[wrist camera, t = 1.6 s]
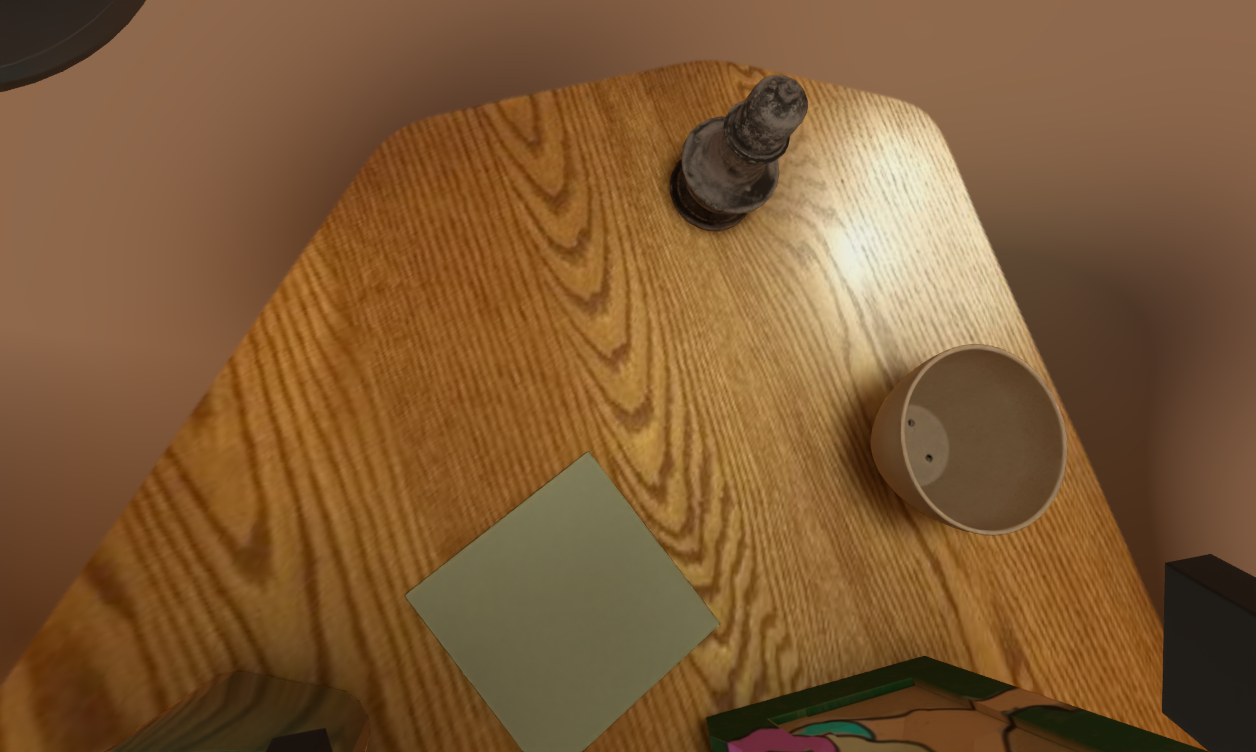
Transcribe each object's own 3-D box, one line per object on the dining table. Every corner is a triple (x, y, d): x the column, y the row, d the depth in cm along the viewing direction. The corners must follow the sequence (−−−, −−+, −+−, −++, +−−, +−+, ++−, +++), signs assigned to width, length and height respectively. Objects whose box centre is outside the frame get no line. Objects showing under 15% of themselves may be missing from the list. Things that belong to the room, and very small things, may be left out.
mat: (404, 594, 37) (404, 595, 37) (587, 451, 41) (588, 450, 40) (546, 780, 37) (547, 784, 37) (717, 622, 41) (720, 624, 40)
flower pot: (801, 432, 44) (864, 419, 37) (911, 337, 46) (989, 308, 39) (903, 564, 44) (986, 576, 37) (1007, 461, 46) (1101, 454, 39)
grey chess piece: (668, 137, 45) (739, 11, 33) (758, 154, 46) (856, 38, 34) (661, 226, 44) (731, 128, 32) (753, 242, 45) (852, 152, 33)
